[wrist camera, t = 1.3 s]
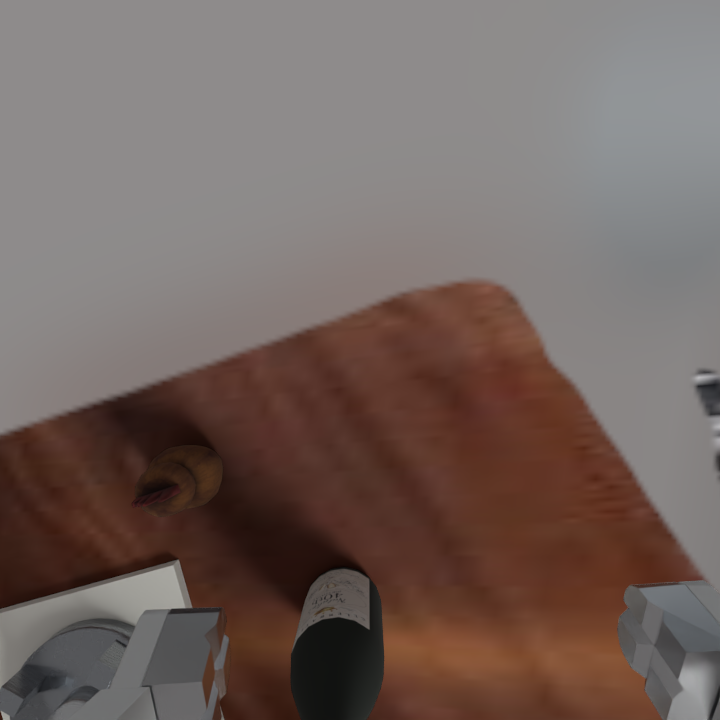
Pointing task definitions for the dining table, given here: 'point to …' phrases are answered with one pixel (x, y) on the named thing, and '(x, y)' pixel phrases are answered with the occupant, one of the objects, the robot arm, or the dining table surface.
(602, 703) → the dining table surface
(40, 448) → the dining table surface
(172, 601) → the base plate
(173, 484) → the wooden figurine
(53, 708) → the lathe chuck
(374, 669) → the wine bottle
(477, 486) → the dining table surface
